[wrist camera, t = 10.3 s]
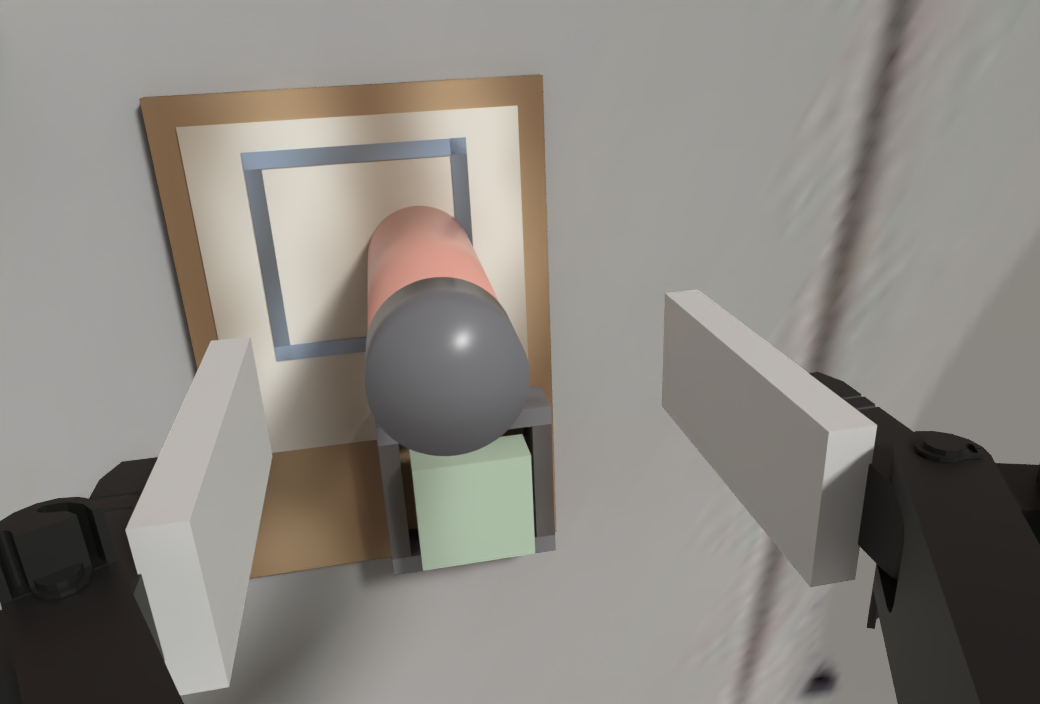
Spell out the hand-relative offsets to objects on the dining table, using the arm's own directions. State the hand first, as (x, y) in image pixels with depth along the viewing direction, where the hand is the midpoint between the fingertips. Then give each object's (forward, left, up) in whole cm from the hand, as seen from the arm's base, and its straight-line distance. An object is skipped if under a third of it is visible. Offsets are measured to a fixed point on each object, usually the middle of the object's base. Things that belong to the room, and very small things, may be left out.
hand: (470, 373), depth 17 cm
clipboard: (-2, -5, -15) cm, 16 cm away
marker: (0, -1, -15) cm, 15 cm away
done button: (+1, -11, -13) cm, 17 cm away
